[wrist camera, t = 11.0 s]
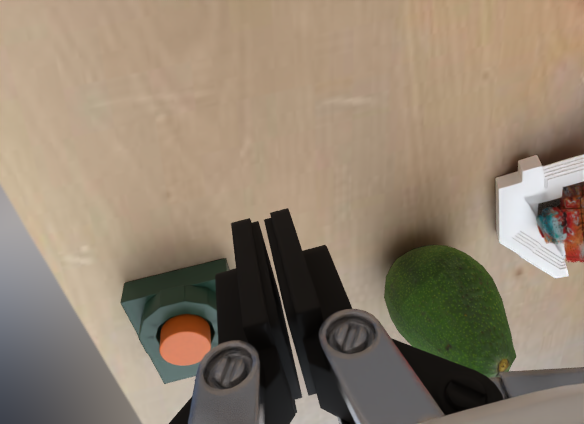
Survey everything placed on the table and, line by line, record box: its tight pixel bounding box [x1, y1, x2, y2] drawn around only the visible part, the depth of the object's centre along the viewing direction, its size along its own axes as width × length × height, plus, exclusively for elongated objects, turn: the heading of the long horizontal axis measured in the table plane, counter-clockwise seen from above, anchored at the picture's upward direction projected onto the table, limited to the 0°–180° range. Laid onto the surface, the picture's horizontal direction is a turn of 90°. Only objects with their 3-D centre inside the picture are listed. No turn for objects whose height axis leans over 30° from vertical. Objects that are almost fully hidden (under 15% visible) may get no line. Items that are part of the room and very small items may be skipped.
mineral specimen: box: [495, 154, 584, 279], centre depth 35 cm, size 12×12×7 cm
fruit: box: [384, 245, 516, 377], centre depth 33 cm, size 8×8×12 cm
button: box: [159, 314, 211, 366], centre depth 32 cm, size 4×4×2 cm
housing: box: [121, 258, 229, 384], centre depth 35 cm, size 10×8×4 cm
